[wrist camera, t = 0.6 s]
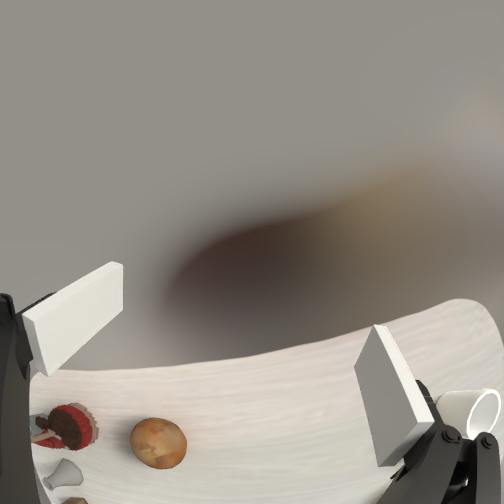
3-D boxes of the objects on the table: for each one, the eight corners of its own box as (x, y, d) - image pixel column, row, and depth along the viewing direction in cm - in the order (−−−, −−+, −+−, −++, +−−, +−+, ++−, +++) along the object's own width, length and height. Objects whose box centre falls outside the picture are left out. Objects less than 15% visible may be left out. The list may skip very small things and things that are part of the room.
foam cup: (424, 429, 38) (460, 445, 26) (432, 386, 41) (472, 394, 28) (457, 422, 37) (494, 433, 25) (464, 382, 40) (504, 386, 28)
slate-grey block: (59, 438, 39) (46, 443, 34) (44, 431, 39) (31, 435, 35) (56, 420, 41) (43, 423, 36) (42, 413, 41) (29, 416, 36)
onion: (136, 439, 40) (112, 456, 31) (154, 402, 43) (131, 414, 33) (180, 466, 39) (163, 488, 29) (201, 429, 41) (187, 448, 32)
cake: (104, 415, 42) (47, 436, 24) (101, 451, 39) (49, 478, 22) (65, 394, 43) (7, 403, 26) (63, 429, 40) (9, 445, 23)
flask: (60, 472, 36) (36, 484, 26) (61, 453, 38) (35, 463, 28) (83, 489, 35) (60, 503, 26) (85, 470, 37) (60, 484, 28)
